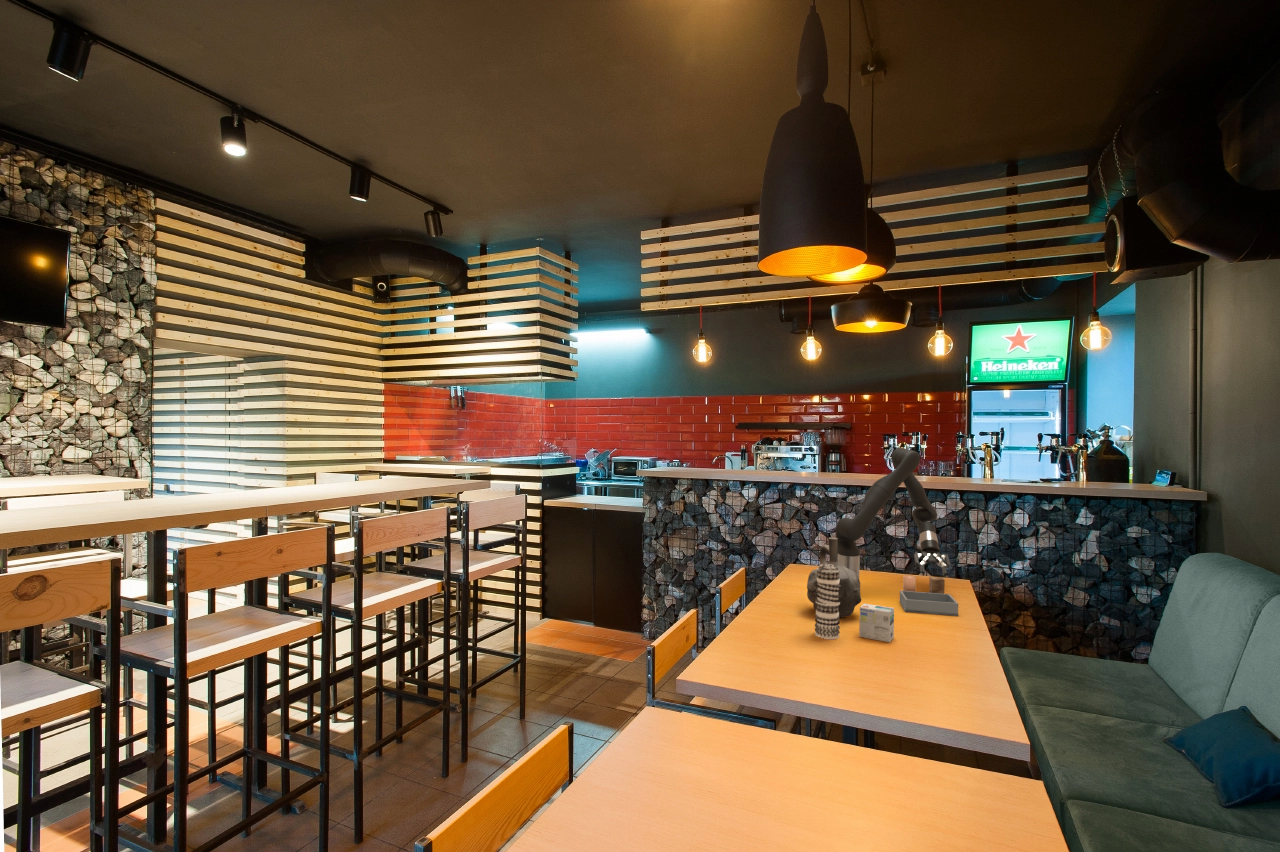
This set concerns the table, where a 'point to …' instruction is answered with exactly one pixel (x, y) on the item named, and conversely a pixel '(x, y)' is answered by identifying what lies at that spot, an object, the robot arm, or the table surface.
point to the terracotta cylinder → (909, 583)
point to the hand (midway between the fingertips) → (934, 574)
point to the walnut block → (936, 585)
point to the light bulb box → (876, 622)
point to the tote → (928, 603)
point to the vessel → (847, 582)
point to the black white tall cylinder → (827, 602)
